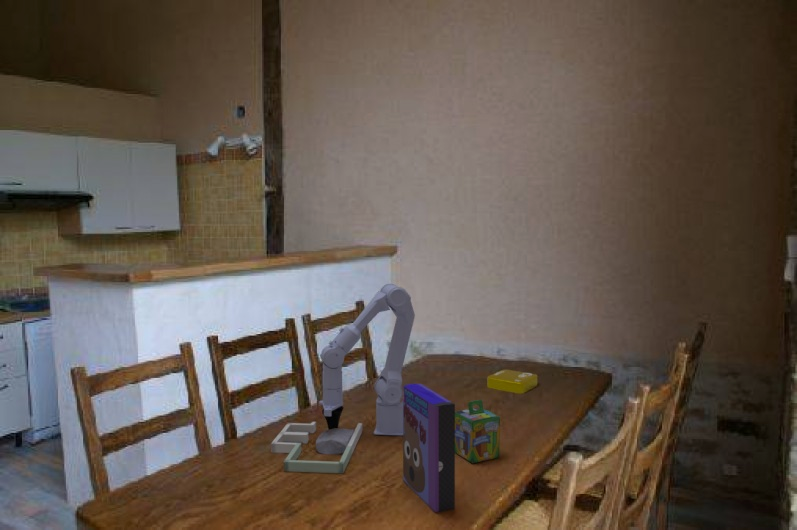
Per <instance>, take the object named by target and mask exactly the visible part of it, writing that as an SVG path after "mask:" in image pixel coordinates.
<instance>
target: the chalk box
mask: <svg viewBox="0 0 797 530" xmlns="http://www.w3.org/2000/svg"><path fill="white" fill-rule="evenodd" d="M475 405H477V406H478V407H475V408H474V406H475ZM467 406H468V408H467V409H466V408H465V409H461V410H458V411H456V410H455V454H457V455H458V456H460V457H462V458H463V459H465V460H467V461H468V462H469V463H470V464H477V463H480V462H485V461H489V460H495V459H499V458H500V441H501V440H500V436H501V435H500V431H501V417H500V416H499V415H498V414H495V413H493V412H492V411H491V410H487V409H484V405H483V400H482V399H476V400H472V401H468V403H467Z"/></svg>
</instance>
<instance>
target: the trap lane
mask: <svg viewBox="0 0 797 530" xmlns="http://www.w3.org/2000/svg"><path fill="white" fill-rule="evenodd" d="M316 431H317V421H312V422H311V423H298V422H296V423H294V422H287V423H286V424H285V426H284V427H283V428H282V430H281V431H280V432H279V433H278V434H277V436H276V437H275V438H274V439H273V440H272V441H271V443H270V453H274V454H287V456H286V458H285V459H284V460H283V472H289V473H290V472H291V473H292V472H293V473H294V472H295V473H321V474H345V471H346V469H347V466H348V464H349V462H350V460H351V457H352V455H353V453H354V451H355V448H356V446H357V444H358V442H359V439H360V438H361V436H362V433H363V423H362V422H358V423H357V425H356V427H355V429H354V433H353V435H352V437H351V439H350V441H349V443H348V445H347V447H346V449H345V451H344V453H343V454H342V455H341V457H340V460H339V461H327V460H326V461H325V460H304V459H303V460H299V459H298V458H299V456H300V455H301V453H302V445H303V444H304V445H305V444H306V445H307V444H308V443H309V440H310V439H309V438H310V437H309V435H310V434H315V432H316ZM297 459H298V460H297Z"/></svg>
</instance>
